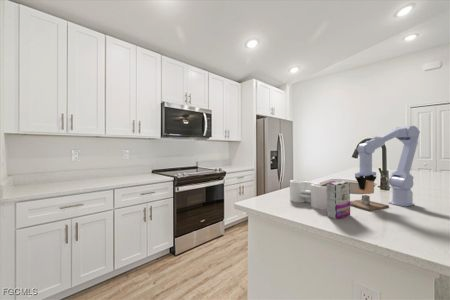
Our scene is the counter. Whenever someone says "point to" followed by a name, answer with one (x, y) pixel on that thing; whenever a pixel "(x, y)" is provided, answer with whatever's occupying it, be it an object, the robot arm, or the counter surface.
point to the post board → (367, 204)
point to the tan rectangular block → (367, 187)
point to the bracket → (308, 193)
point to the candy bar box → (338, 199)
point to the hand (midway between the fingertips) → (365, 189)
